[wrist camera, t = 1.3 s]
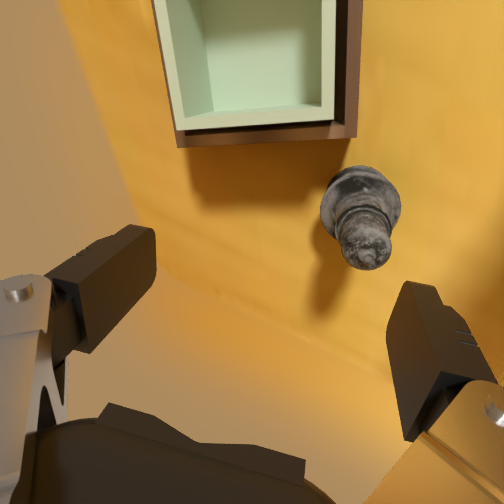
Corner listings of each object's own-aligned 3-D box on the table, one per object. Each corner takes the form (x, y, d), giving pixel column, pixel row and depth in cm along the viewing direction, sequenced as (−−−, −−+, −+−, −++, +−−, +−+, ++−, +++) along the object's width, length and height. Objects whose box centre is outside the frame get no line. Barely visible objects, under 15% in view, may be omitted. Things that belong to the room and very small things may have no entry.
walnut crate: (364, -140, 20) (371, -195, 16) (353, 129, 26) (356, 137, 22) (164, -91, 23) (128, -127, 19) (198, 139, 29) (177, 147, 25)
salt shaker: (361, 241, 30) (374, 324, 20) (308, 203, 30) (292, 270, 19) (410, 188, 27) (455, 255, 17) (351, 147, 27) (361, 188, 16)
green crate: (338, -106, 20) (338, -179, 14) (334, 110, 25) (333, 119, 20) (183, -72, 22) (132, -123, 17) (209, 120, 28) (176, 130, 22)
